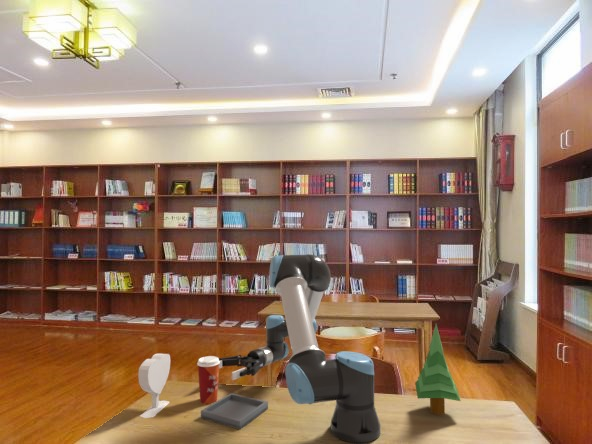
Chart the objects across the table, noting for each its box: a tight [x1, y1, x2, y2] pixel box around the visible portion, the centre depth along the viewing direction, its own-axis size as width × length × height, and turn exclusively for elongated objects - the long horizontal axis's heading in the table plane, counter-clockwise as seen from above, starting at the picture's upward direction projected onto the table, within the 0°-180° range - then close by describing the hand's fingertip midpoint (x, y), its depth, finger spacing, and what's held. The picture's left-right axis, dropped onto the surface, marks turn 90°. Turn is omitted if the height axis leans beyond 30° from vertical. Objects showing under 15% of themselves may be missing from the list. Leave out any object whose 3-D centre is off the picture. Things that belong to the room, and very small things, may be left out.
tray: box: [200, 392, 269, 430], centre depth 137 cm, size 16×16×2 cm
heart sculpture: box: [137, 353, 171, 419], centre depth 141 cm, size 16×5×18 cm, turn 170°
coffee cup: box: [196, 355, 220, 405], centre depth 147 cm, size 8×8×15 cm
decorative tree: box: [414, 323, 462, 416], centre depth 137 cm, size 14×16×30 cm
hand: (220, 372), depth 152 cm, fingers open, 13 cm apart
